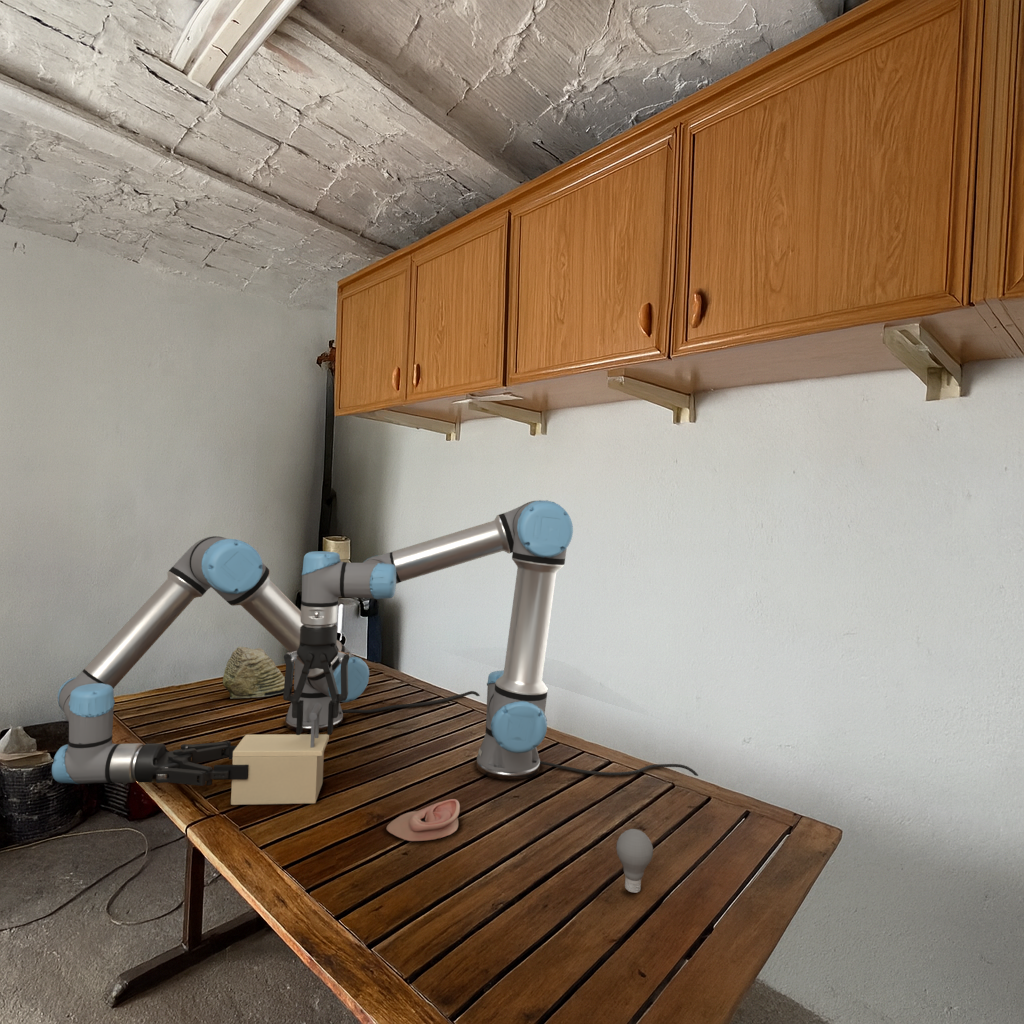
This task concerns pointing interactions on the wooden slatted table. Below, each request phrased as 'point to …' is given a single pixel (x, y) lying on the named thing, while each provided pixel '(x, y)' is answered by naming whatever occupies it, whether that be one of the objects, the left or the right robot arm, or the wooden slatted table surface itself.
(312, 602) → the right robot arm
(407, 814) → the anatomical model
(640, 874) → the light bulb
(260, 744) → the lid
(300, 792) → the chest
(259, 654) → the fossil
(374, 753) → the wooden slatted table surface
